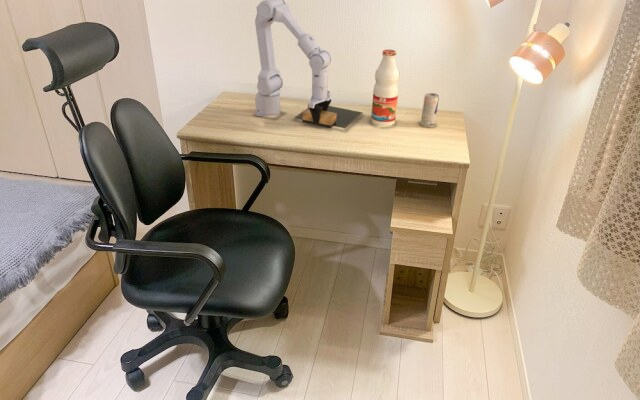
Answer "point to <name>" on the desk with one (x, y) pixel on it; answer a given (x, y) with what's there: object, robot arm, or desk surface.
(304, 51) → the robot arm
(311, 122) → the eraser
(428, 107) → the energy drink
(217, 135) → the desk surface
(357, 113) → the slate board
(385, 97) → the strawberry milk bottle
